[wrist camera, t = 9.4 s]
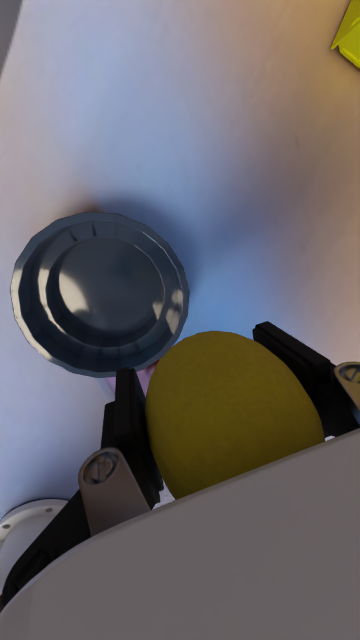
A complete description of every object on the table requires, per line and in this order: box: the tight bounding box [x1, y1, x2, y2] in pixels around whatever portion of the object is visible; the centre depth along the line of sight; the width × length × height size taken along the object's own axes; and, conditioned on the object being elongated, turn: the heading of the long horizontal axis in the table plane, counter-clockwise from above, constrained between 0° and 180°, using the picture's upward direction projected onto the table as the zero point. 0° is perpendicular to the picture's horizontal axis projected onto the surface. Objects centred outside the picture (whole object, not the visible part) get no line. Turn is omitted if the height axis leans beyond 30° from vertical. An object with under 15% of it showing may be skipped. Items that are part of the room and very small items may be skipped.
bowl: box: [10, 212, 189, 378], centre depth 24 cm, size 14×14×6 cm
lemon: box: [145, 331, 325, 500], centre depth 9 cm, size 6×6×8 cm
